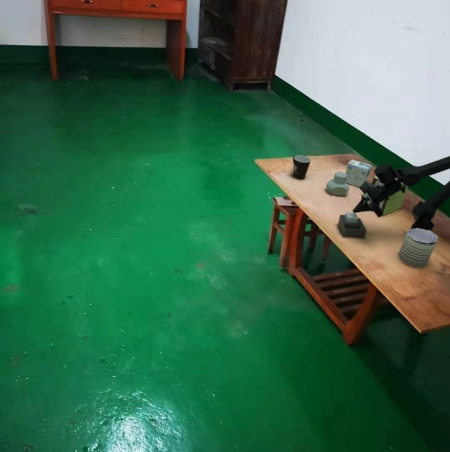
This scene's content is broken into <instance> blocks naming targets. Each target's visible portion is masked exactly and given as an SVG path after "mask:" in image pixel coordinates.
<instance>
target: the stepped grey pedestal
mask: <svg viewBox="0 0 450 452" xmlns="http://www.w3.org/2000/svg"><path fill="white" fill-rule="evenodd" d="M344 216H345V214H339V219H338V222H337V226H338V228H339V231H340V233H341V235H342V237H343V238H350V239H351V238H354V239H365V237H366V234H367V229H366V227H365V225H364V223H363V221H362V218H360V217H358V221H357V223H349V222H346V220H345V218H344Z"/></svg>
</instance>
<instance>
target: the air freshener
mask: <svg viewBox="0 0 450 452" xmlns="http://www.w3.org/2000/svg"><path fill="white" fill-rule="evenodd" d="M345 173H346V172H342V171H336V172H335V173H334V176H333V178H332V179H330V180H329V181H327V183H326V189H327V191H328V192H329V193H330V194H332V195H335V196H344V195H346V194H347V193H348V192H349V190H350V186H349V183H346V178H347V175H346V174H345Z"/></svg>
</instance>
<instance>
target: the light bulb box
mask: <svg viewBox="0 0 450 452" xmlns="http://www.w3.org/2000/svg"><path fill="white" fill-rule="evenodd" d="M371 168H372V165H371V164H368V163H364V162H363V161H362V162H361V161H358V160H356V159H351V160H350V161H349V162H347V166H346V170H345V172H344V173H345V174H346V175H347V178H346V183H347V184H348V185H349V184H350V185H351V186H355V187H357V188H359V187H360V186H361V185H362V184H363V183H364V182H365V180H366V181H368V179H369V176H370V173H371Z"/></svg>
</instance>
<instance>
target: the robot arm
mask: <svg viewBox="0 0 450 452" xmlns="http://www.w3.org/2000/svg"><path fill="white" fill-rule="evenodd" d="M448 170H450V155H448V156H445V157H443V158H440V159H437V160H434V161H431V162H428V163H425V164H423V165H412V166H411V165H410V166H406V167H403V168H393V166H392V164H391V163H390V162H388V163H383V164H379V165H377V167H375V169H374V170H373V173H374V175H375V176H377V178H378V179H379V181H380V182H381V183H382V184H383V185H381V186H380V185H376V186H374V185H373V184H372V182H369V181H368V180H367V181H366V180H365V182H364V183H363V184H362V185H361V186H360V187H358V188H359V190H360V191H361V193H362V194H361V198H360V201H359V202H358V203H357V204H356V206H355V207H354V208H353V209H352V213H356V214H358V213H365V212H366V213H367V212H372V213H374V214H375V215H376V217H377V218H378V219H379V218H381V217H384V215H383V213H384V212H383V211H382V209H381V208H380V204H379V203H381V202H382V201H384V200H387V201H388V200H389V197H390V196H392V195H394V194H395V193H397V192H398V191H400V190H401V191H402V193H403V194H404V193H405V189H406V186H408V188H409V187H413V186H415V185H417V184H420V183H421V181H423V180H424V179H425V178H428V177H430V176H434V175H436V174H439V173H442V172H445V171H448ZM395 178H397V179H398V180H395ZM401 183H403V184H404V185H402V184H401ZM405 185H406V186H405ZM449 199H450V180H448V181H447V182H446V183H445V184H444V185H443V186H442V187H441V188H440V189H438V191H437V192H435V193H434V195H433V196H431V197H430V198H429V199H428V200H426V201H423V200H419V201H418V202H417V204H416V205H413V209H412V210H411V215H412V216H413V220H414V222H412V224H411V227H410V229H415V228H419V229H424V230H428V231H431V230H433V229H434V227H435V225H434V222H433V221H432V220H433V219H434V217H435V215H436V213H437V210H438V209H439V208H440V207H441V206H442V205H443V204H444V203H446V202H447V201H448V200H449Z"/></svg>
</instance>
